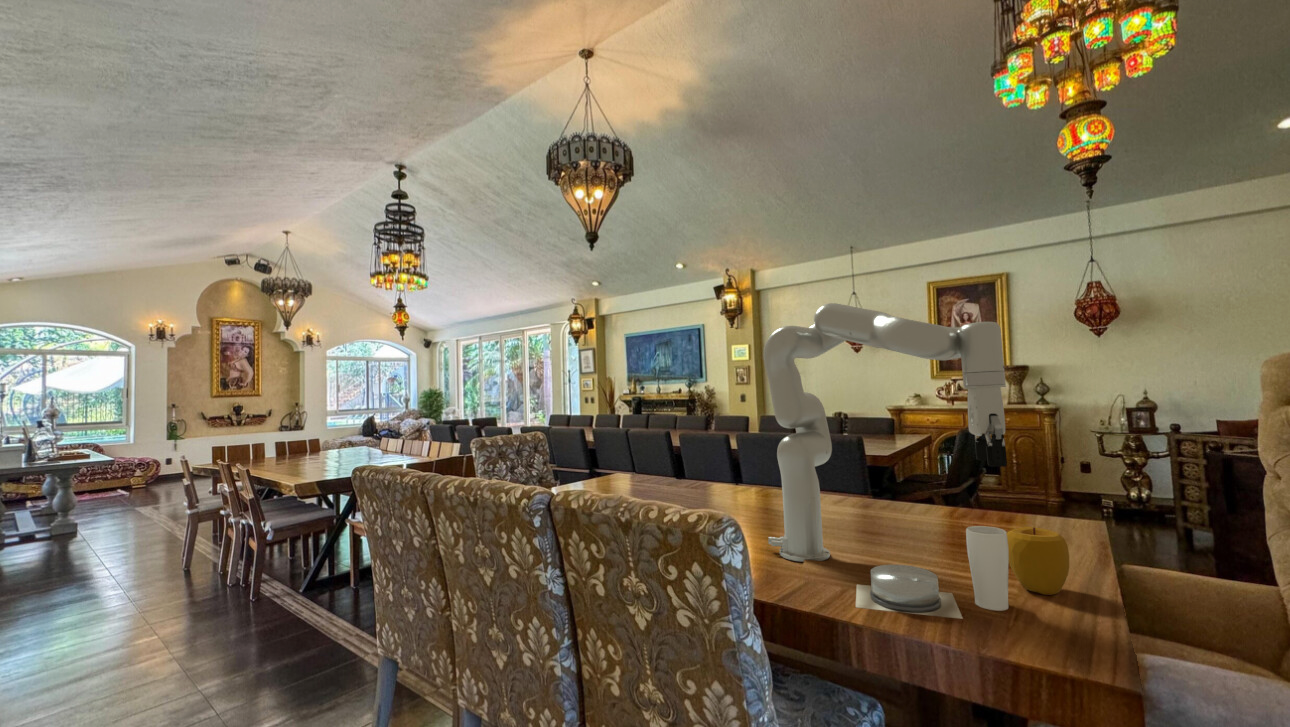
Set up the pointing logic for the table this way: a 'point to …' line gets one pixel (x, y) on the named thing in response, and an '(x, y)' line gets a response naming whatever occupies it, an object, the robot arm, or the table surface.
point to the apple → (1038, 559)
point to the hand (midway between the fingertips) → (991, 463)
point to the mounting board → (946, 610)
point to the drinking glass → (989, 566)
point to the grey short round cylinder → (905, 588)
